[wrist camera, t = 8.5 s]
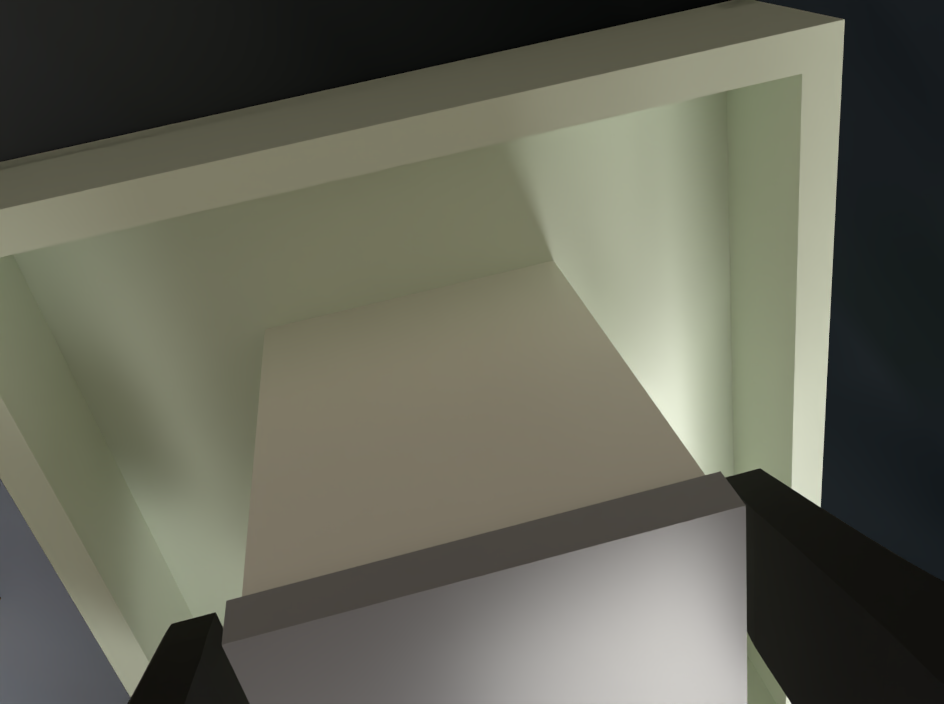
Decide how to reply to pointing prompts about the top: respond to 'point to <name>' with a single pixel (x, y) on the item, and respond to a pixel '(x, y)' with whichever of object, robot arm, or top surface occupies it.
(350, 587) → the grey box
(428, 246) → the tray
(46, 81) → the top surface
